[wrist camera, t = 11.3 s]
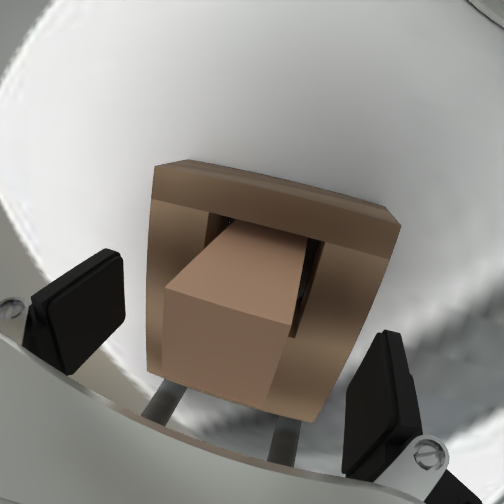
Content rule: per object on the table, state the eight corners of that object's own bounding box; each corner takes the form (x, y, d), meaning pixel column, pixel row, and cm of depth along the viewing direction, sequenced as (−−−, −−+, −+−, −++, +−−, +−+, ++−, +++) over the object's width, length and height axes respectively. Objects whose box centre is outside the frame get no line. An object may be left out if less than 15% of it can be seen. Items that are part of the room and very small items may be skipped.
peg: (243, 211, 18) (164, 287, 9) (309, 229, 18) (291, 325, 9) (232, 271, 20) (161, 374, 11) (292, 287, 19) (262, 408, 10)
